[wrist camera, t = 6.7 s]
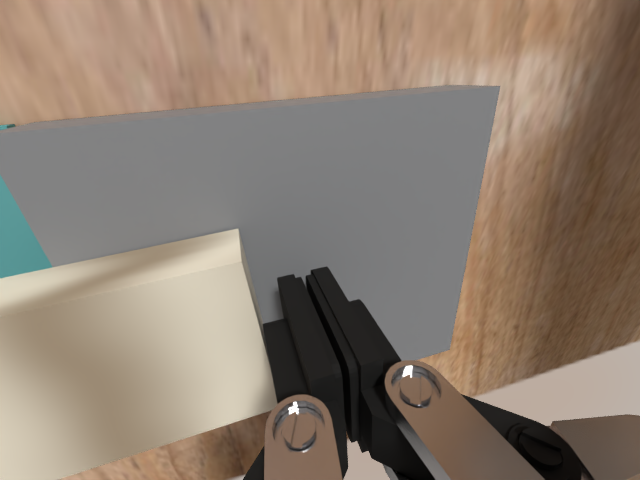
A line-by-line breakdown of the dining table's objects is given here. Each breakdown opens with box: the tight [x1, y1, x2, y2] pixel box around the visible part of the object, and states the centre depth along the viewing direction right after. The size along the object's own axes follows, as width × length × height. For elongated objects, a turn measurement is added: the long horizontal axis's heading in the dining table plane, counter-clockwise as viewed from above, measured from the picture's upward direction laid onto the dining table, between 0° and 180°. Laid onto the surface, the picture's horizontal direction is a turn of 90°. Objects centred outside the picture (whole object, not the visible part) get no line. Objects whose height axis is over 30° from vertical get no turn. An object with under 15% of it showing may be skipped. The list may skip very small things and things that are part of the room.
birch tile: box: [0, 229, 277, 480], centre depth 9 cm, size 8×6×2 cm
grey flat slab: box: [0, 85, 500, 361], centre depth 12 cm, size 14×12×2 cm
